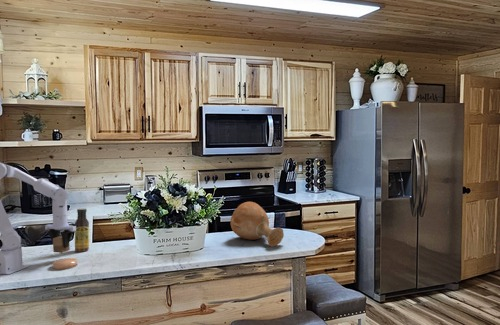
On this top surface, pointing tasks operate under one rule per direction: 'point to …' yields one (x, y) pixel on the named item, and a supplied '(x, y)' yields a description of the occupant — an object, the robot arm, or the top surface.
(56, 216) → the robot arm
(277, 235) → the jug
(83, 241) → the sauce bottle
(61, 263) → the tan flattened disc
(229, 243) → the top surface
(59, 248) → the walnut block
